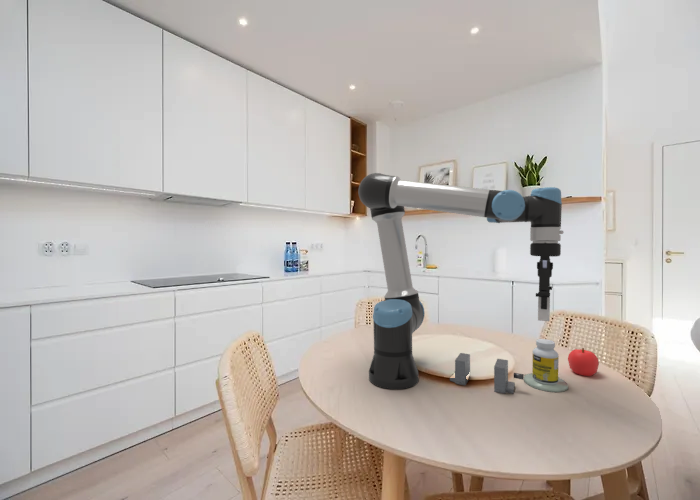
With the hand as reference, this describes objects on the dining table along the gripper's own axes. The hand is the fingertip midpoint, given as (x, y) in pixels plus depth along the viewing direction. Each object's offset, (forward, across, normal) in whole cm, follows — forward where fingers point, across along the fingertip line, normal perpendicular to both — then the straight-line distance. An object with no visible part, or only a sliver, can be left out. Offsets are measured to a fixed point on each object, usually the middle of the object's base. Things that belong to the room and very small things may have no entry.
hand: (543, 315), depth 95 cm
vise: (+20, -9, +14) cm, 26 cm away
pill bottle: (+19, 0, -1) cm, 19 cm away
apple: (+20, +14, -11) cm, 27 cm away
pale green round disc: (+20, 0, -1) cm, 20 cm away
